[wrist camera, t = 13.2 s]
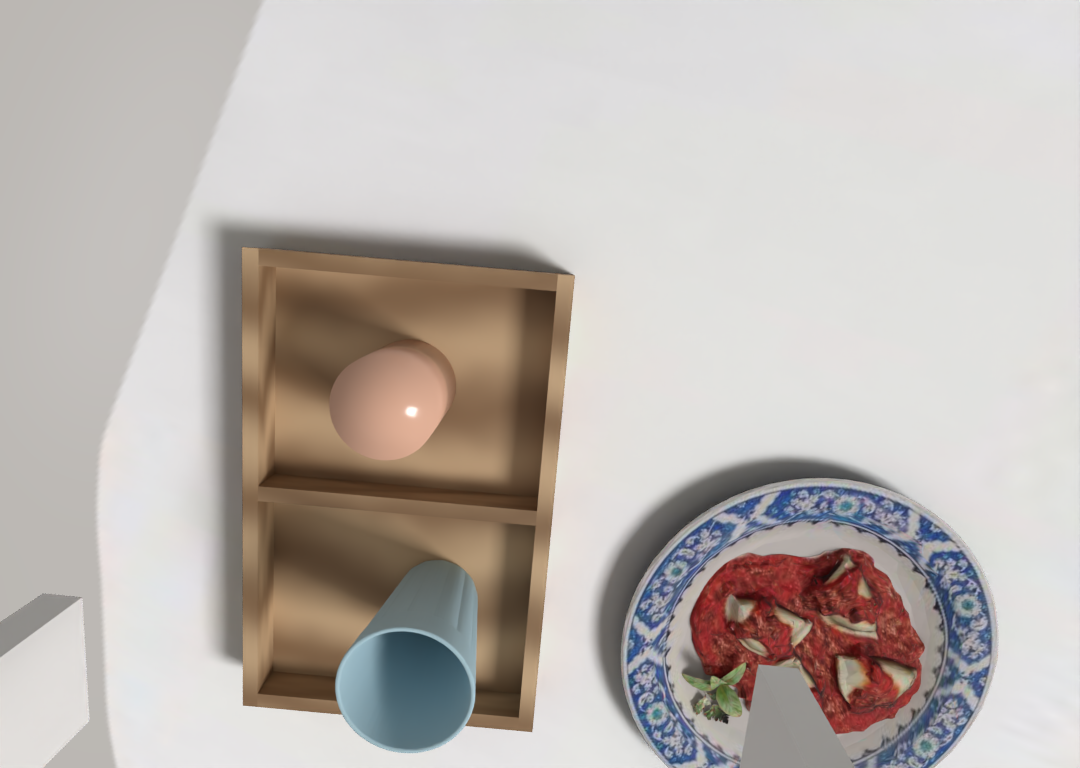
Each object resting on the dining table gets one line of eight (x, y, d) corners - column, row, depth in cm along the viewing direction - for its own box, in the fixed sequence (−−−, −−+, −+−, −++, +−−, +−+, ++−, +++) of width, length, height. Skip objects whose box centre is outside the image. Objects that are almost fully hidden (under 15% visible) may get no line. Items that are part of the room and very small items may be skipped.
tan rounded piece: (367, 335, 42) (330, 350, 35) (459, 343, 42) (440, 359, 35) (364, 424, 43) (328, 455, 36) (453, 432, 43) (434, 465, 36)
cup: (382, 641, 46) (333, 749, 36) (384, 540, 45) (334, 622, 35) (488, 649, 46) (470, 759, 36) (494, 548, 45) (477, 633, 35)
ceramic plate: (948, 427, 44) (976, 438, 41) (1002, 751, 48) (1031, 783, 45) (578, 519, 46) (579, 537, 43) (663, 824, 50) (670, 859, 47)
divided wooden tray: (267, 248, 42) (241, 247, 39) (573, 274, 42) (574, 275, 39) (265, 673, 48) (243, 705, 45) (533, 698, 48) (532, 732, 45)
